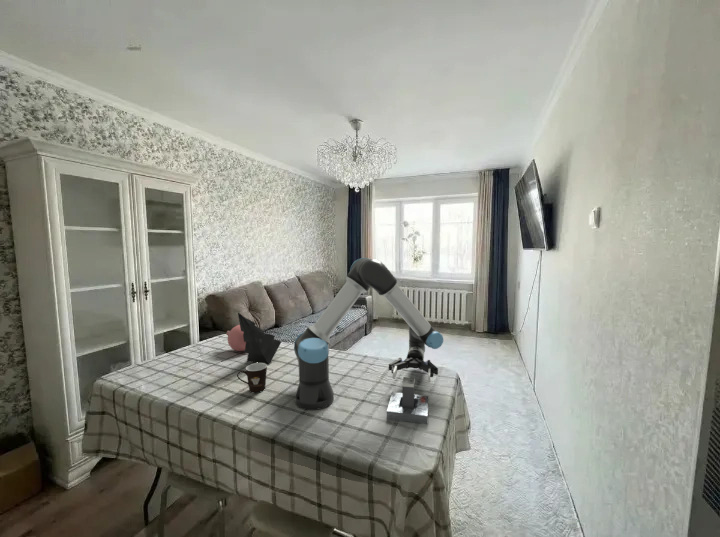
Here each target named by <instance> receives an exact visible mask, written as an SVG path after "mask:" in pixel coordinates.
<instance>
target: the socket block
mask: <svg viewBox="0 0 720 537" xmlns="http://www.w3.org/2000/svg"><path fill="white" fill-rule="evenodd" d="M428 419H429V395H421V394H415V407H414V409H408V408H402V392H396V391H395V392H394V391H391V395H390V399H389V402H388V406H387V409H386V420H391V421H397V422H405V423H413V424H421V425H428V422H429V421H428Z"/></svg>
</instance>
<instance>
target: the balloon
mask: <svg viewBox="0 0 720 537" xmlns="http://www.w3.org/2000/svg"><path fill="white" fill-rule="evenodd" d="M243 333H244V332H243V331H241V328H240V324H237V325H235V326H234V327H233V328H231V330H227V331H226V333H225V334H226V336H227V343H228V345H229V347H230V348H231V349H232V350H233V351H237V352H244V351H245V345H246V342H244V338H243Z"/></svg>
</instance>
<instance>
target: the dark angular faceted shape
mask: <svg viewBox="0 0 720 537" xmlns="http://www.w3.org/2000/svg"><path fill="white" fill-rule="evenodd" d="M237 315H238V322H239V325H240V328H241V331H243V332H244V333H243V338H244V342H246V345H245V351H243V353H245V354H247V358H246V361H247V360H248V361H253V362H252V363H255V362H258V363H265V364H267V365H268V364H269V365H270V364H271V363H272V360H273V358H274V357H275V355H276V353H277V351H278V349H279V347H280V345H281V344H282V342H283V341H282V340H281V341H280V340H278V339H275V337H276V336H275V335H273V334H271V333H265V330H263V329H261V328H260V327H259V326H257V323H256V322H254V321H253V320H251V319H249V318H247V317H245V316H243V315H242V314H241V313H240V312H237ZM248 361H247V362H248Z"/></svg>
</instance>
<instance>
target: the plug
mask: <svg viewBox="0 0 720 537" xmlns="http://www.w3.org/2000/svg"><path fill="white" fill-rule="evenodd" d="M415 382H416V379H415V377H408V376H407V377H406V376H404V377H403V378H402V382H401V386H402V387H401V388H402V390H401V393H402V408H408V409H414V407H415V395H416V394H415Z"/></svg>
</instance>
